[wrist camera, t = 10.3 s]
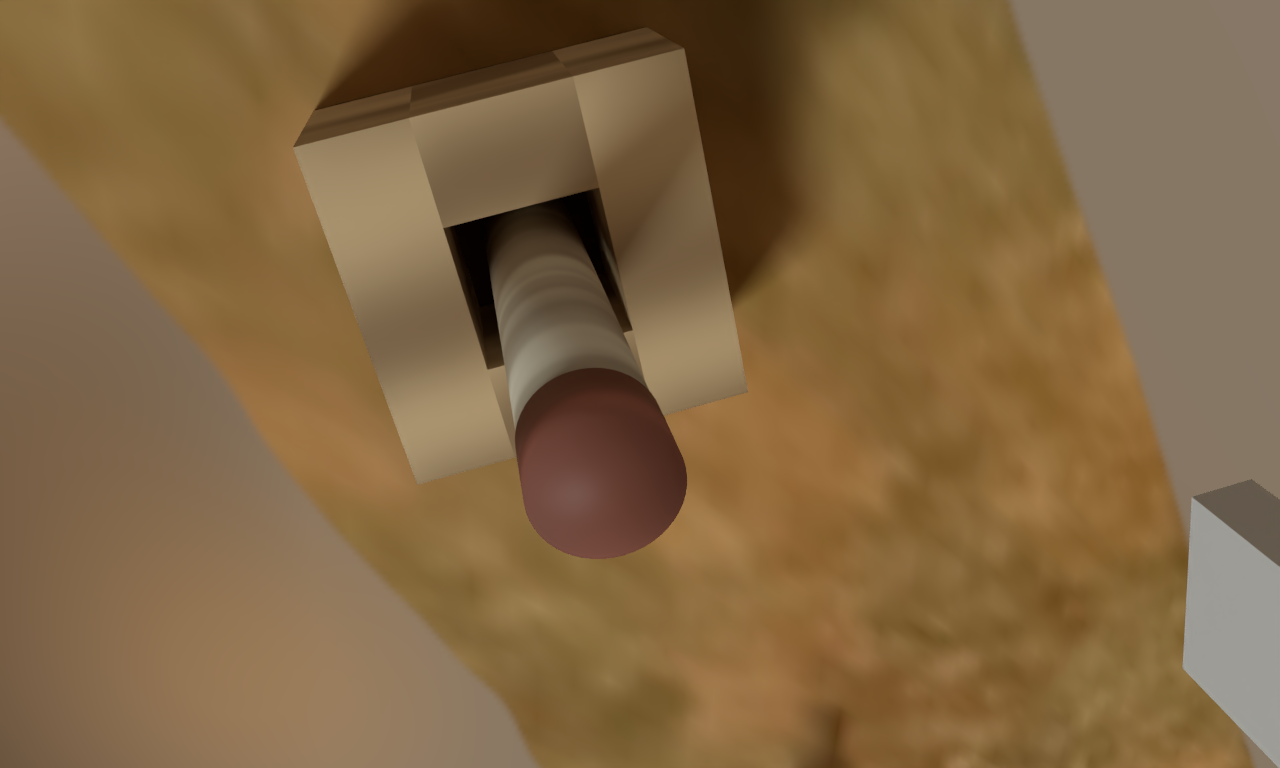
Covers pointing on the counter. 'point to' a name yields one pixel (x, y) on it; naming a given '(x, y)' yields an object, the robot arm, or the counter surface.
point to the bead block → (511, 179)
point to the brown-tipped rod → (577, 394)
